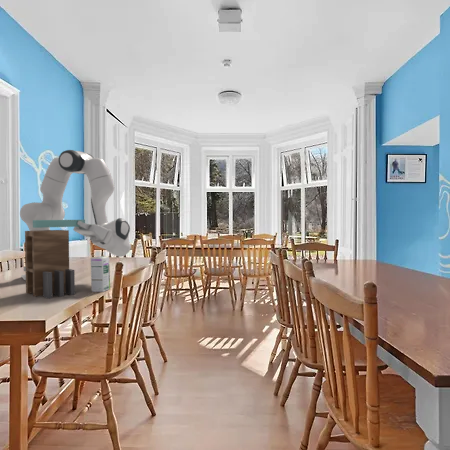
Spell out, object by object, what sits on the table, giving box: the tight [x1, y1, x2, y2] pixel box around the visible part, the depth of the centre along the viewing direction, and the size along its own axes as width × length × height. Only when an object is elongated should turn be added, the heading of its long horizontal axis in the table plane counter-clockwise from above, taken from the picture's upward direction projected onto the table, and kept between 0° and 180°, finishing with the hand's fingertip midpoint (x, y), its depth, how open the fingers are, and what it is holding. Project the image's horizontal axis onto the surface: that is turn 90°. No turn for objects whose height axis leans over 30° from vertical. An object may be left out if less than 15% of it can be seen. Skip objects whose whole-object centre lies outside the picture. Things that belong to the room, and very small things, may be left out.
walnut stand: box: [24, 229, 70, 297], centre depth 159 cm, size 10×14×26 cm
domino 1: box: [42, 271, 53, 299], centre depth 150 cm, size 2×5×10 cm, turn 46°
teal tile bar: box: [33, 219, 86, 228], centre depth 163 cm, size 3×21×3 cm, turn 136°
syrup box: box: [90, 255, 111, 293], centre depth 163 cm, size 6×6×14 cm
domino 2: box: [54, 270, 65, 297], centre depth 153 cm, size 2×5×10 cm, turn 46°
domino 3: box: [65, 268, 76, 296], centre depth 156 cm, size 2×5×10 cm, turn 47°
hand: (75, 222), depth 168 cm, fingers closed on teal tile bar, 3 cm apart
